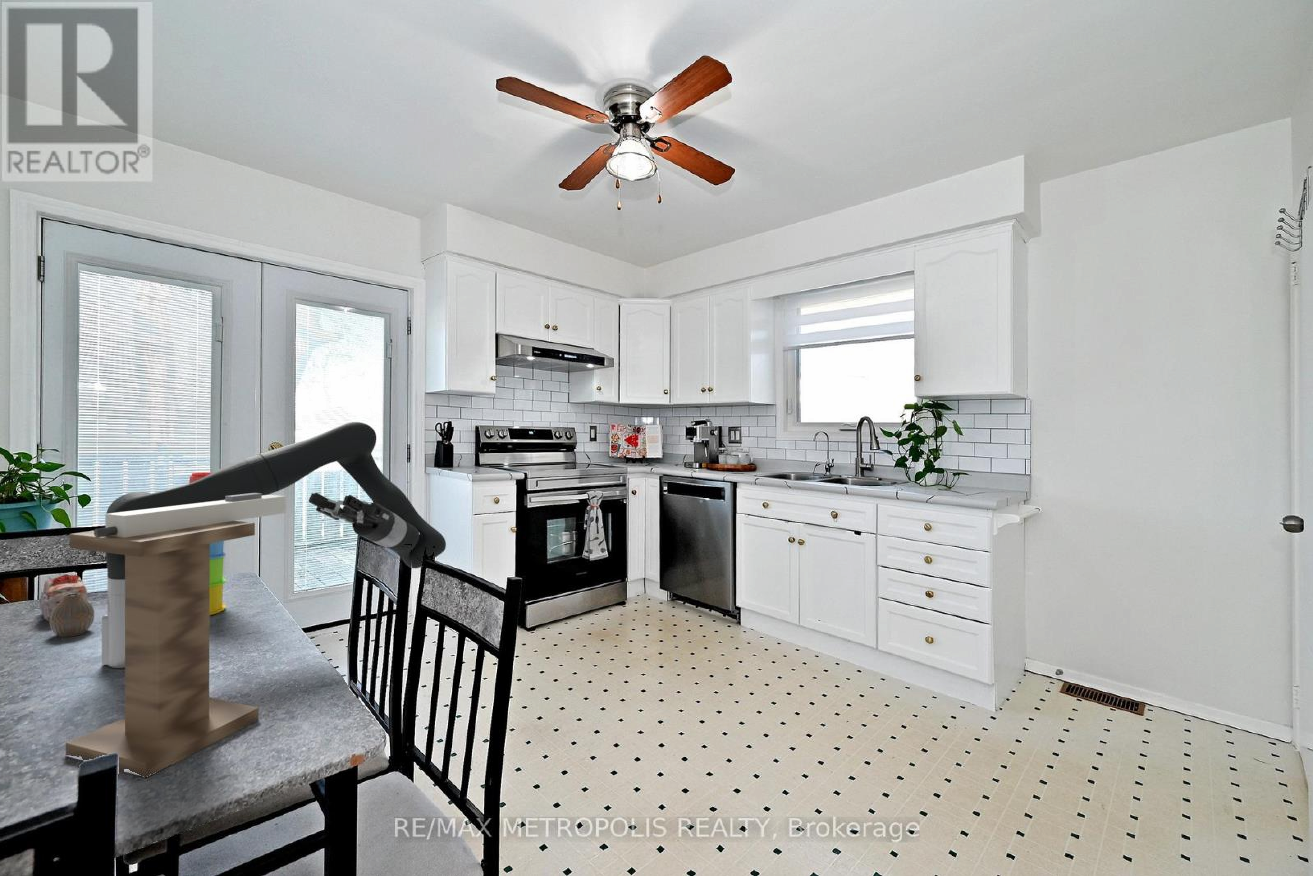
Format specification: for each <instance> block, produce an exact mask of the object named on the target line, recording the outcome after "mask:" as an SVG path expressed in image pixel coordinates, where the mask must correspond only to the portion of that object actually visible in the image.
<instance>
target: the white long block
mask: <svg viewBox="0 0 1313 876" xmlns="http://www.w3.org/2000/svg"><path fill="white" fill-rule="evenodd" d="M286 500H287V499H286V495H277V494H269V495H263V496H262V493H249V494H240V495H231V496H225V500H220V501H211V502H203V503H194V504H186V505H177V506H169V507H160V508H151V509H143V510H134V511H126V512H117V513H109V514H106V513H105V514H104V515H105V518H104V521H105V524H104V525H105V526H104V527H100V528H95V529H94V530H93V531H94V535H95V537H97V538H98V537H104V536H116V537H124V538H125V537H131V536H138V535H144V534H151V533H157V532H164V531H170V530H177V529H183V528H190V527H196V526H203V525H210V524H216V523H223V522H229V521H241V520H247V519H254V518H260V517H267V516H273V515H280V514H286V508H287V507H286V503H287V502H286Z"/></svg>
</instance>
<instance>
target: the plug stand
mask: <svg viewBox="0 0 1313 876" xmlns="http://www.w3.org/2000/svg"><path fill="white" fill-rule="evenodd" d="M255 523H256V522H252V521H241V520H236V521H229V522H223V523H216V524H210V525H203V526H196V527H190V528H183V529H177V530H170V531H164V532H157V533H151V534H144V535H138V536H131V537H125V538H124V537H116V536H104V537H98V538H97V537H95V535H94V531H95V530H90V531H81V532H75V533H70V534H69V548H70V549H75V550H83V551H91V552H99V553H105V554H106V553H114V554H122V555H125V668H124V718H122V719H119V720H117V721H115V722H113V723H110V724H107V725H106V726H102V727H100V728H98V729H95V730H93V731H91V732H89V733H86V734H83V735H82V736H79V737H76V738H74V739H71V740H70V741H67V742H65V756H66V755H71V756H77V757H79V756H81V757H82V759H83V760H89V759H94V758H96V757H99V756H102V755H107V754H112V753H118V754H119V771H118V772H121V773H124V769H129V770H130V771H132V772H135V773H137V774H139V775H141V776H144V777H147V776H149V775H150V774H153V773H155V772H157V773H159V772H161V771H163V770H165V769H166V767H167V768H168V766H169V765H171V766H172V765H174V764H177V763H179V762H180V761H182V760H184V759H186V758H188V757H191V756H192V755H194V754H195V753H197V752H199V751H202V750H203V749H205V748H207V747H210V746H211V745H213V744H215V743H217V742H219V741H221V740H223V739H224V738H226V737H228V736H230V735H232V734H234V733H236V732H238V731H239V730H241V729H244V728H246V727H247V726H249V725H251V724H253V723H255V722H257V721H259V707H257V706H252V705H248V704H244V703H238V702H233V701H228V700H225V699H224V700H223V699H219V698H215V697H214V698H213V697H210V616H211V615H210V544H211V543H216V542H221V541H224V542H226V541H230V540H236V539H240V538H241V539H242V538H248V537H251V536H255V535H256V529H255V528H256V527H255ZM83 760H81V762H84V761H83ZM169 767H170V766H169ZM164 768H165V769H164ZM162 769H163V770H162ZM160 770H161V771H160ZM158 771H159V772H158ZM155 774H156V773H155ZM153 775H154V774H153Z"/></svg>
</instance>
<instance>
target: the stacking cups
mask: <svg viewBox="0 0 1313 876" xmlns="http://www.w3.org/2000/svg"><path fill="white" fill-rule="evenodd" d="M211 473H212V472H193V473H191V475H189V480H188V481H189V482H188V484H189V483H192V482H195V481H197V480H199V479H201V478H203V477H205V476H207V475H209V474H211ZM224 542H225V541H221V542H216V543H211V544H210V615H209V616H212V615H215V614H219V613H221V611H222V612H223V611H225V610H226V607H227V605H225V604H223V595H224V593H223V592H224V591H223V590H224V588H223V587H224V584H225V583H226V582H227V579H226V578H224V557H225V556H226V555H227V554H226V552H224V545H225V544H224ZM224 609H225V610H224Z"/></svg>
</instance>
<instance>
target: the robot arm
mask: <svg viewBox="0 0 1313 876" xmlns="http://www.w3.org/2000/svg"><path fill="white" fill-rule="evenodd" d="M376 444H377V434H376V431H375V429H374V428H373V427H372V426H370V425H369V424H367V423H364V422H360V421H352V422H346V423H343V424H341V425H339V426H336V427H334V428H332V429H330V430H327V431H325V432H323V433H320V434H318V435H315V436H314V437H313V436H312V437H311V438H307V439H305V440H301V441H297V442H294V443H291V444H288V445H284V446H281V447H278V448H274V449H272V450H269V451H265V452H261V453H258V454H255V455H252V456H249V457H246V458H242V459H240V460H237V461H234V462H231V463H230V464H227V465H225V466H223V467H221V468H219V469H217V470H215V471H213V472H210V473H211V474H209V475H207V476H205V477H203V478H201V479H199V480H197V481H195V482H192V483H189V482H188V483H186V484H184V485H180V486H176V487H172V488H169V489H166V490H162V491H158V492H157V491H156V492H152V493H151V492H146V491H132V492H129V493H125V494H123V495H120V496H119V497H117V498H116V499H115V500H114V501H112V502H111V504H110V505H109V506H108V508H107V510H106V513H105V514H109V513H117V512H126V511H134V510H143V509H151V508H160V507H169V506H177V505H186V504H194V503H203V502H211V501H220V500H225V496H231V495H240V494H249V493H262V496H263V495H273V494H274V493H276V492H279V491H282V490H283V489H286V488H289V487H290V486H291V485H294V484H295V483H297V482H299V481H300V480H302V479H304V478H305V477H306V476H308V475H310V474H311V473H313V472H315V471H316V470H318V469H320V468H322V467H324V466H326V465H329V464H332V463H336V462H337V463H338V465H340V466H341V467H342V468H343V470H345V471H346V472H347V473H348V475H350V476H351V477H352V478H353V480H355V482H356V483H357V484H358V485H359V486H360V488H361V489H362V490H363V492H364V493H365V494H366V495H367V497H369V499H370V500H371V502H370V503H369V502H368V501H367V500H366V501H365V500H361V499H359V498H357V497H355V496H353V495H352V494H346V495H344V499H343V500H340V499H339V500H337V501H336V500H332V499H330V498H328V497H326V496H324V495H322V494H320V493H318V492H311V494H310V497H309V499H308V503H310V504H312V505H314V506H316V508H315V511H316V512H318V513H320V514H322V515H325V516H327V517H330V518H332V519H334V521H339V520H343V521H345V522H346V523H349V524H351V525H352V530H353V531H354V533H355V534H356V535H357V536H360V537H362V538H364V539H366V540H368V541H370V542H373V543H374V544H376V545H379V546H381V547H385V548H387V549H389V550H391V551H392V552H395V553H396V554H397V555H398V556H399V557H400V558H401V560H402V561H403V562H404V564H405V565H406V567H409V568H411V550H412V568H411V569H420V568H422V567H423V566H422V560H423V556H424V551H425V547H426V554H427V556H428V557H429V556H431V555H432V554H433V552H434V556H433V559H432V560H435V558H437V557H438V556H440V555H441V554H443V553H444V551H445V550H446V547H447V542H446V538H445V537H444V536H443V535H442V533H440V531H438V530H437V529H435V527H433V526H432V525H431V524H429V523H428V521H426V520H425V519H424V518H423V517H422V516H421V515H420V514H419V513H418V512H417V510H416V508H415V506H413V504H412V502H411V501H410V500H409V498H408V497H407V495H406V494H405V493H404V492H403V491H402V490H401V489H400V487H398V486H397V485H395V484H394V483H393V482H392V481H390V479H388V477H386V476H385V475H384V473H382V472H383V471H381V470H380V468H379V467H378V465H377V463H376V461H375V459H374V457H373V455H372V453H373V450H374V449H375V447H376ZM341 506H343V507H341ZM404 544H412V546H411V545H404ZM402 546H403V547H402ZM433 546H435V548H433ZM105 559H106V568H107V569H106V572H107V577H106V578H107V614H104V615H103V616H102V617H101V666H105V665H106V666H108V667H109V668H113V669H125V555H122V554H114V553H106V552H105ZM421 566H422V567H421Z"/></svg>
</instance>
